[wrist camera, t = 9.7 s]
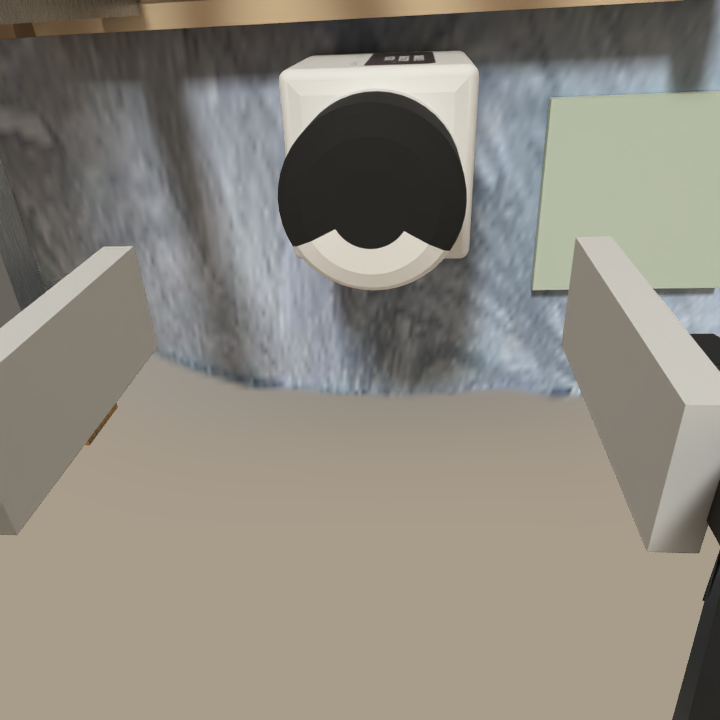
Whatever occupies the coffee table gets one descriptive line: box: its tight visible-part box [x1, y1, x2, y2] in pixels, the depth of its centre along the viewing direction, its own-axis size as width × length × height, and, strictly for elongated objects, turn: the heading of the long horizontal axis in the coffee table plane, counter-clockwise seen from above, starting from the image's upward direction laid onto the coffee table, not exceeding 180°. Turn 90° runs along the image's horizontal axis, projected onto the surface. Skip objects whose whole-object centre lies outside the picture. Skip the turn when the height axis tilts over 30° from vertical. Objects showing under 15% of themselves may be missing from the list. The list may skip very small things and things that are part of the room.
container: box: [278, 50, 479, 290], centre depth 26 cm, size 8×8×13 cm
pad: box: [531, 91, 720, 290], centre depth 32 cm, size 10×10×1 cm
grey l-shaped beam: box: [0, 0, 140, 445], centre depth 24 cm, size 3×15×15 cm, turn 3°
